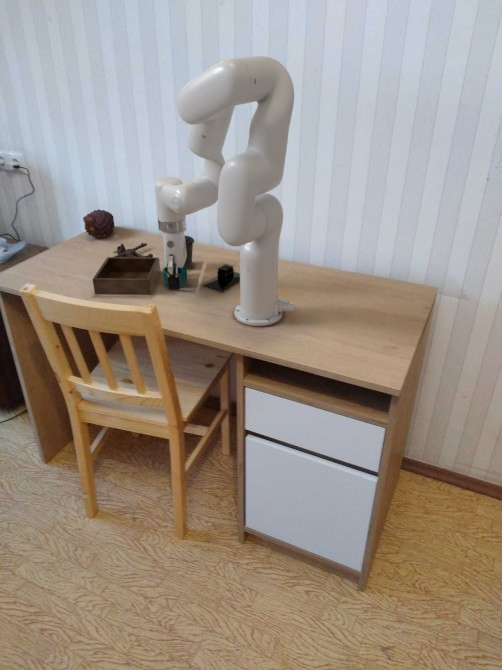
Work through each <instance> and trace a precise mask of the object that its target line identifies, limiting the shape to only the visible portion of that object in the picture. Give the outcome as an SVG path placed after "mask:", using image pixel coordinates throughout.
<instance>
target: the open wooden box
mask: <svg viewBox="0 0 502 670" xmlns="http://www.w3.org/2000/svg"><path fill="white" fill-rule="evenodd" d="M160 274H161V264H160V257H153V258H143V257H137V256H136V257H126V256H122V257H114V256H111V257H110V256H107V257H106V258H105V260H104V261H103V263H102V264H101V266H100V267H99V269H98V270H97V272H96V273H95V275H94V276H93V278H92V284H93V291H94V295H125V296H126V295H127V296H128V295H129V296H130V295H131V296H132V295H133V296H134V295H137V296H138V295H139V296H151V294H152V293H153V290H154V287H155V286H156V282H157V281H158V278H159V276H160Z"/></svg>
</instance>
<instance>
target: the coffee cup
mask: <svg viewBox="0 0 502 670" xmlns="http://www.w3.org/2000/svg"><path fill="white" fill-rule="evenodd" d="M185 242H186V251H187V258H186V261H185V264H184V266H186V267H187V268H188V270H189V269H190V268H191V269H192V265H193V249H194V248H193V247H194V243H195V239H194V238H193V236H189V235H185Z"/></svg>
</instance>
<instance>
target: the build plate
mask: <svg viewBox="0 0 502 670" xmlns="http://www.w3.org/2000/svg"><path fill="white" fill-rule="evenodd" d="M216 273H217V274H216V275H217V276H216V277H215V278H213V279H211V280H209V281H208V282H206V283H205V284H203V287H206V288H208V289H212V290H214V291H218V292H221V293H224V292H226V291H227V290H229V289H230V288H232V287H234V286H235V285H237V284H238V283H240V272H236V271H235V269H234V266H233V265H230V264H227V263H225V264H223V265H221V266H219V267H218V268H217V272H216Z"/></svg>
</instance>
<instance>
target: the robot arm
mask: <svg viewBox="0 0 502 670" xmlns="http://www.w3.org/2000/svg"><path fill="white" fill-rule="evenodd" d="M254 102H256V103H257V107H256V109H255V112H254V113H253V115H252V118H251V121H250V124H249V129H248V141H247V146H246V149H245V151H244V152H241V153H237V154H234V155H233V156H231V157H229V158H228V159H227V160H226V161H225V158H224V155H223V149H224V144H225V141H226V138H227V134H228V131H229V128H230V125H231V122H232V119H233V114H234V111H235V108H236V106H240V105H245V104H250V103H254ZM294 104H295V87H294V81H293V80H292V77H291V75H290V73H289V71H288V70H287V68H286V67H285V65H283V64H282V63H281V62H280V61H279V60H277V59H275V58H272V57H270V56H264V55H256V56H255V55H254V56H246V57H238V58H237V57H236V58H228V59H224V60H221V61H219V62H217V63H215V64H214V65H211V67H209V68H207V69H206V70H204V71H203V72H201V73H199V74H198V75H197V76H195V77H193V78H192V79H190V80H189V81H188V82H186V83H185V84H184V85H183V86H182V88H181V89H180V91H179V92H178V96H177V101H176V109H177V112H178V115H179V117H180V119H181V120H182V121H183V122H185V123H186V124H188V125H190V128H189V131H188V136H187V140H186V144H187V145H186V146H187V148H188V149H189V150H190V151H191V152H192V153H193V154H194V155H195V156H197V157H200V158H201V159H203V160H204V162H203V163H204V164H203V168H202V172H201V175H200V176H199V177H200V178H198V179H194V180H190V181H188V182H186V183H183V181H182V179H180V178H179V177H175V176H167V177H166V176H165V177H160V178H158V179H157V180H156V181H155V182H154V195H155V205H156V215H157V227H158V232H159V233H160V234H162V243H163V244H162V245H163V254H164V255H163V256H164V257H163V258H164V265H165V266H164V267H167V268H168V276H167V277H168V286H167V287H168V288H167V289H168V290H171V291H172V290H175V291H179V290H180V289H181V287H180V280H179V276H178V267H180V268H182V267H183V266H184V264H185V261H186V258H187V251H186V242H185V236H186V234H185V232H186V231H187V216H188V215H192V214H195V213H197V212H200V211H201V210H204V209H207V208H209V207H212V206H213V205H215V204H216V203H217V208H216V226H217V231H218V234H219V236H220V238H221V239H222V241H224V243H225V244H227V245H229V246H231V247H239V274H240V282H239V304H238V305H236V307H235V308H234V317H235V319H236V320H237V321H238V322H239V323H242V324H244V325H247V326H252V327H253V326H254V327H264V326H269V325H273V324H276V323H277V322H279V321H280V320H281V319H282V318H283V314H284V313H283V312H295V310H296V309H295V308H296V307H295V305H296V304H295V303H290V302H291V301H290V300H287V299H285V300H281V299H279V294H278V281H279V280H278V279H279V278H278V277H279V250H280V249H279V248H280V247H279V246H280V238H281V233H282V228H283V223H284V209H283V205H282V204H281V202H280V200H279V199H278V198H277V197H276V196H275V195H273V194H271V193H268V192H270V191H272V190H274V189H276V188H277V187H279V186H280V185H281V182H282V180H283V177H284V171H285V166H286V165H285V164H286V157H287V149H288V141H289V132H290V125H291V120H292V116H293V111H294ZM173 265H176V266H173ZM173 269H176V273H175V270H173Z"/></svg>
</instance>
